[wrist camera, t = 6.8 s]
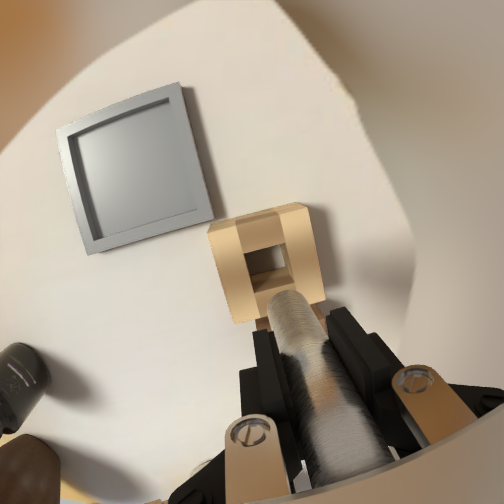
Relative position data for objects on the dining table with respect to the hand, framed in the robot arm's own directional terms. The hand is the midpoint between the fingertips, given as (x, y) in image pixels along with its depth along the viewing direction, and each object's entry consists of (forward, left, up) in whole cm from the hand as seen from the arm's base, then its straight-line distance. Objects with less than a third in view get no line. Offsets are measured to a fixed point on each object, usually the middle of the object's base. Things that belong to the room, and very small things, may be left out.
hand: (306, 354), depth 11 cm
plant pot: (-21, +39, -16) cm, 47 cm away
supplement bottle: (-6, +29, -16) cm, 34 cm away
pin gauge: (0, 0, -4) cm, 4 cm away
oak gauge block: (0, 0, -15) cm, 15 cm away
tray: (+9, +9, -15) cm, 20 cm away
